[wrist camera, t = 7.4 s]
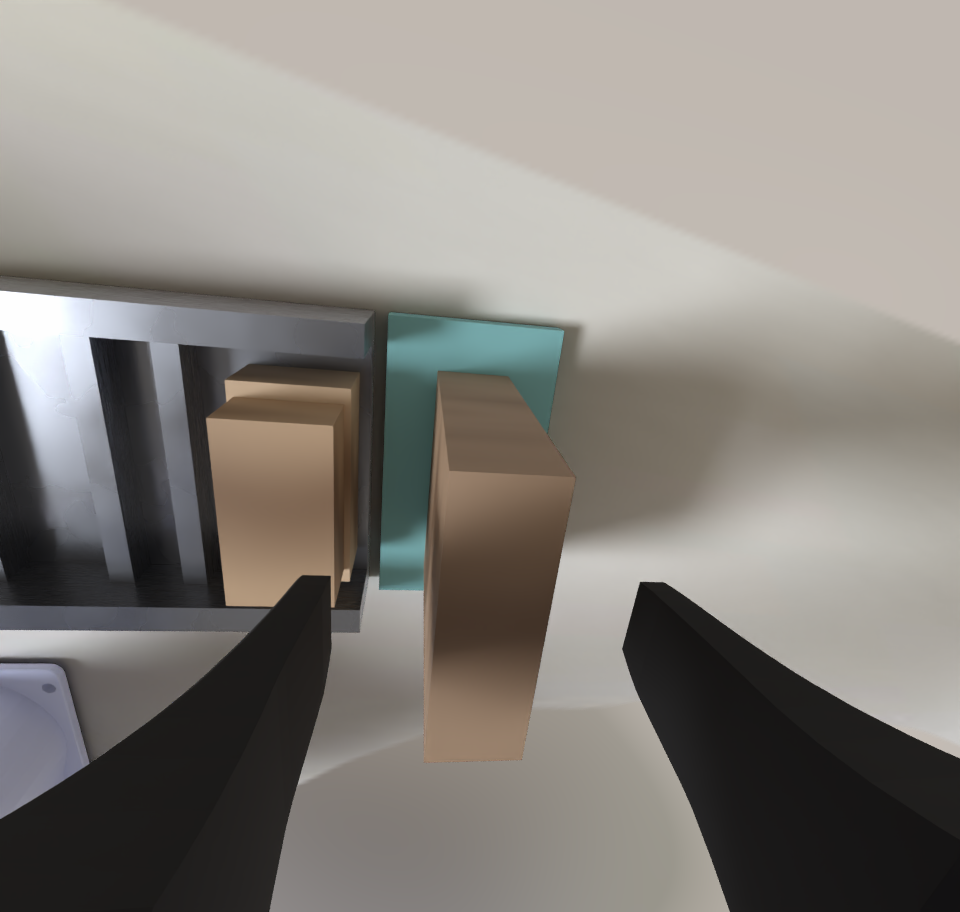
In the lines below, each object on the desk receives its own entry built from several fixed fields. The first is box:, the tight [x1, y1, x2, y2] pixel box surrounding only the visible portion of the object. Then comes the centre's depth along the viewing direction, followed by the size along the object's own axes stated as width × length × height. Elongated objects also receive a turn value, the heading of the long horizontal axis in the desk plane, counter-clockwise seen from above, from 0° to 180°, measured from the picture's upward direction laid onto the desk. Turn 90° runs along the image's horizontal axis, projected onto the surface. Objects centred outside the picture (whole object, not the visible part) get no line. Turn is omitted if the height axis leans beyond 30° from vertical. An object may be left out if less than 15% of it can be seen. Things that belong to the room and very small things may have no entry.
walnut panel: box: [424, 371, 576, 763], centre depth 15 cm, size 8×2×8 cm, turn 174°
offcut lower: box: [225, 364, 360, 582], centre depth 17 cm, size 7×4×2 cm, turn 174°
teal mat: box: [379, 312, 564, 590], centre depth 19 cm, size 11×6×1 cm, turn 174°
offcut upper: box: [206, 397, 344, 607], centre depth 15 cm, size 6×3×2 cm, turn 174°
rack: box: [0, 276, 375, 632], centre depth 17 cm, size 11×14×3 cm
